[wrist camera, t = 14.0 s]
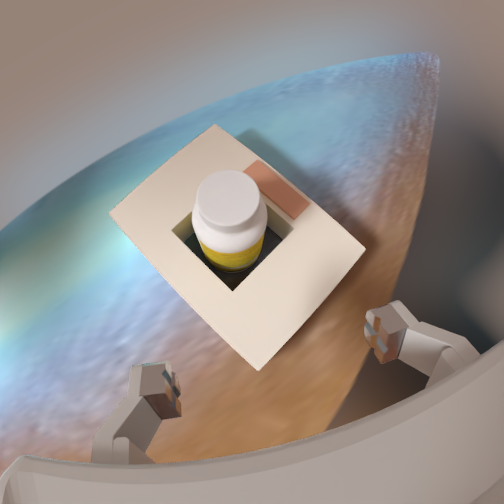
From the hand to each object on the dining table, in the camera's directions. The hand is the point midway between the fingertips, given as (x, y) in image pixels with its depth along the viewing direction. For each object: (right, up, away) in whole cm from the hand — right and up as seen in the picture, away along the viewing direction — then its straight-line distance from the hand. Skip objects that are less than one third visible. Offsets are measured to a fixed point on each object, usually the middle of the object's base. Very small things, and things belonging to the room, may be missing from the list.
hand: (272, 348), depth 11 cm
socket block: (-2, +4, +16) cm, 17 cm away
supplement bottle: (-3, +4, +16) cm, 17 cm away
